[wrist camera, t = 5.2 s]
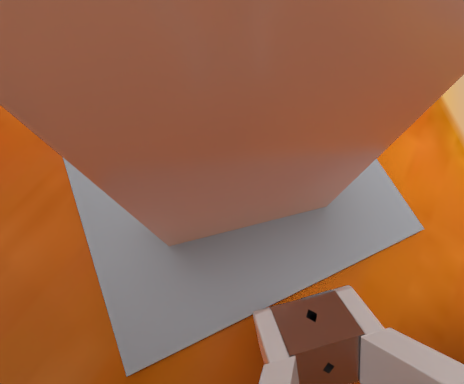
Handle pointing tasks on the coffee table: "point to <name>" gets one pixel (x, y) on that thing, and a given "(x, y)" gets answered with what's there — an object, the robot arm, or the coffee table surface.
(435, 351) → the robot arm
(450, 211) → the coffee table surface
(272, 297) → the mat
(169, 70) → the tile
